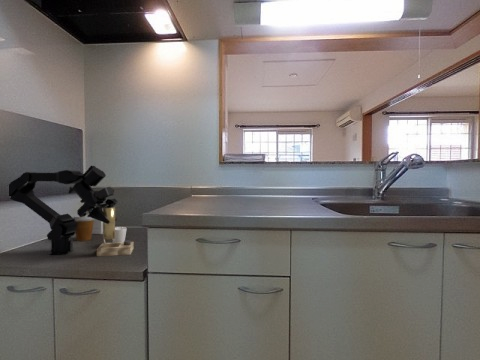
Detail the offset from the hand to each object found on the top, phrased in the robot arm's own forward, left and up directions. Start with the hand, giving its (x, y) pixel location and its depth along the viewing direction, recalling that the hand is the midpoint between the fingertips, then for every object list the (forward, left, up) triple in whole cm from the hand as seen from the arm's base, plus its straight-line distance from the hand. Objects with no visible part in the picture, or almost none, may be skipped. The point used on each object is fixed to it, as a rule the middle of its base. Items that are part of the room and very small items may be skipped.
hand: (112, 221), depth 106 cm
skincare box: (-16, +45, -14) cm, 49 cm away
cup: (-1, +13, -14) cm, 19 cm away
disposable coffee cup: (-19, +30, -14) cm, 38 cm away
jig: (+1, +4, -13) cm, 14 cm away
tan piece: (-1, 0, -7) cm, 7 cm away
